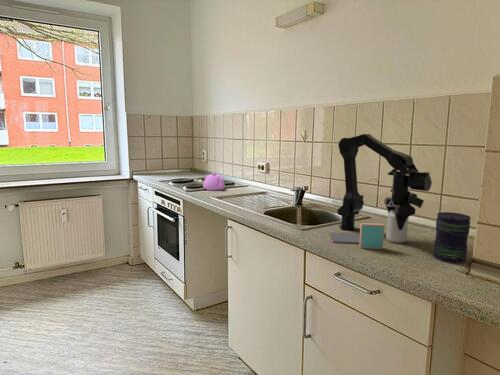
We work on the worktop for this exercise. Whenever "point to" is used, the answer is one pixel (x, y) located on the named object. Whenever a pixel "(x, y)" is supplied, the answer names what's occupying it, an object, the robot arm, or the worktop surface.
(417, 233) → the worktop surface
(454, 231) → the storage jar
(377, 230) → the tile
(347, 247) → the worktop surface
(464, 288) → the worktop surface
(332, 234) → the mat
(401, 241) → the can
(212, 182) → the teapot
